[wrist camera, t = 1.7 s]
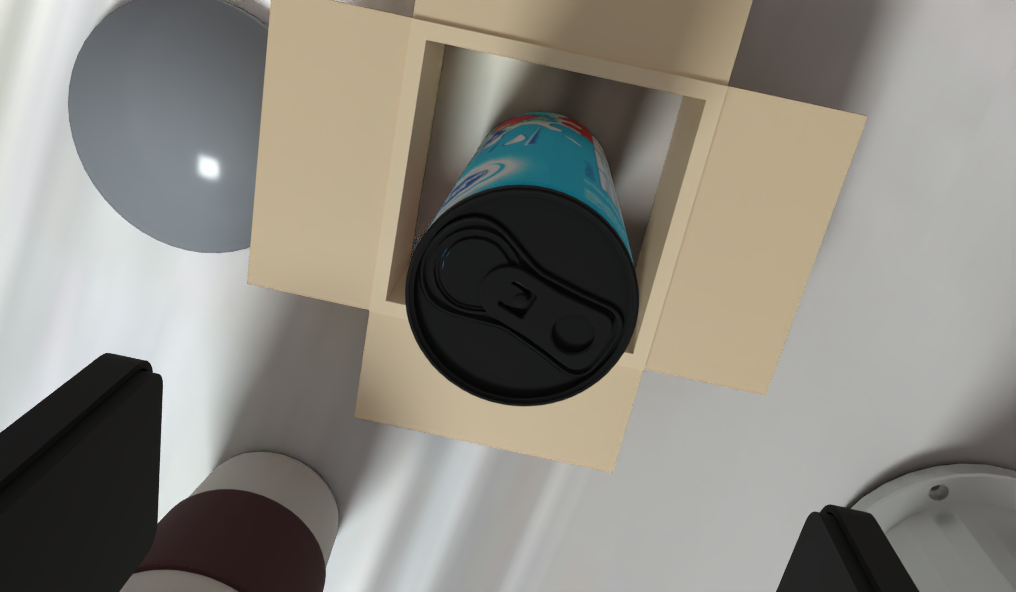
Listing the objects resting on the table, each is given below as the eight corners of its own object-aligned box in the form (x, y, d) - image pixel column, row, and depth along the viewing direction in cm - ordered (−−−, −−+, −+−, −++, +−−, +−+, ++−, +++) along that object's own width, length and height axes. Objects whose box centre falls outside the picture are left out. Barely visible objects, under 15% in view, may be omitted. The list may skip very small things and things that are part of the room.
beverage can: (537, 78, 32) (514, 134, 18) (638, 176, 33) (689, 301, 19) (444, 181, 34) (357, 305, 20) (543, 270, 35) (526, 447, 21)
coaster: (337, 24, 32) (333, 24, 31) (309, 271, 36) (305, 275, 35) (76, -33, 32) (67, -33, 31) (76, 221, 36) (68, 224, 35)
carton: (869, -31, 30) (925, -38, 25) (708, 437, 37) (728, 499, 33) (328, -148, 30) (283, -176, 25) (278, 345, 37) (236, 394, 32)
